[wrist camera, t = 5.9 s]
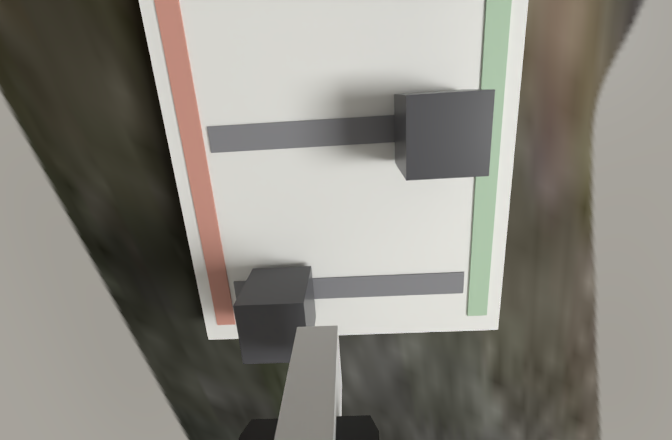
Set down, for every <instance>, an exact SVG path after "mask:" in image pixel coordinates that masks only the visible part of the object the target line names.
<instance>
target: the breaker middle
mask: <svg viewBox="0 0 672 440" xmlns="http://www.w3.org/2000/svg"><path fill="white" fill-rule="evenodd" d="M494 98H495V89H462V90H446V91H431V92H416V93H400V94H394V122H395V164H396V165H397V167H398V169H399V170H400V172H401V173H402V175H403V176H404V178H405V179H406V181H408V180H426V179H445V178H464V177H482V176H489V168H490V154H491V140H492V126H493V112H494Z"/></svg>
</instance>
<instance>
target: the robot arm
mask: <svg viewBox="0 0 672 440" xmlns="http://www.w3.org/2000/svg"><path fill="white" fill-rule="evenodd" d="M341 412H342V377H341V364H340V350H339V336H338V325H336V326H309V327H297V330H296V335H295V340H294V345H293V350H292V355H291V359H290V364H289V369H288V374H287V379H286V384H285V389H284V394H283V399H282V404H281V408H280V413H279V418H278V419H252V420H251V421H250V422H249V424H248V425H247V427H246V428H245V429H244V431H243V432H242V433H241V435H240V437H239V440H379V431H378V429H377V427H376V425H375V424H374V422H373V420H372V418H371V416H370V415H369V416H341Z"/></svg>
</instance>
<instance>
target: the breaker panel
mask: <svg viewBox="0 0 672 440" xmlns="http://www.w3.org/2000/svg"><path fill="white" fill-rule="evenodd" d="M139 5H140V10H141V15H142V19H143V24H144V29H145V34H146V39H147V44H148V49H149V53H150V58H151V63H152V68H153V73H154V78H155V82H156V87H157V92H158V97H159V102H160V107H161V111H162V116H163V121H164V126H165V131H166V136H167V141H168V145H169V150H170V155H171V160H172V165H173V170H174V174H175V179H176V184H177V189H178V194H179V199H180V204H181V208H182V213H183V218H184V223H185V228H186V233H187V237H188V242H189V247H190V252H191V257H192V262H193V267H194V271H195V276H196V281H197V286H198V291H199V296H200V300H201V305H202V310H203V315H204V320H205V325H206V330H207V334H208V339H209V340H214V339H239V337H238V332H237V326H236V320H235V314H234V309H233V305H234V303H235V301H236V299H237V297H238V295H239V294H240V292H241V290H242V288H243V286H244V284H245V282H246V280H247V278H248V277H249V275H250V273H251V271H252V269H253V268H274V267H297V266H311V268H312V279H313V290H314V300H315V311H316V321H315V326H336V325H338V335H359V334H388V333H417V332H446V331H474V330H498V324H499V313H500V302H501V291H502V280H503V269H504V259H505V248H506V237H507V226H508V215H509V204H510V194H511V183H512V172H513V161H514V150H515V140H516V129H517V118H518V107H519V96H520V85H521V75H522V64H523V53H524V42H525V31H526V20H527V10H528V0H139ZM462 89H495V98H494V112H493V126H492V140H491V154H490V168H489V176H482V177H464V178H445V179H426V180H408V181H406V179H405V178H404V176H403V175H402V173H401V172H400V170H399V169H398V167H397V165H396V164H395V122H394V94H400V93H416V92H431V91H446V90H462Z"/></svg>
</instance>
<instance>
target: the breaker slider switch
mask: <svg viewBox="0 0 672 440" xmlns="http://www.w3.org/2000/svg"><path fill="white" fill-rule="evenodd" d="M233 309H234V314H235V320H236V326H237V332H238V337H239V343H240V349H241V354H242V360H243V364H258V363H290V359H291V355H292V350H293V345H294V340H295V335H296V330H297V327H309V326H315V321H316V311H315V300H314V290H313V279H312V268H311V266H297V267H274V268H253V269H252V271H251V273H250V275H249V277H248V278H247V280H246V282H245V284H244V286H243V288H242V290H241V292H240V294H239V295H238V297H237V299H236V301H235V303H234V305H233Z"/></svg>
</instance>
